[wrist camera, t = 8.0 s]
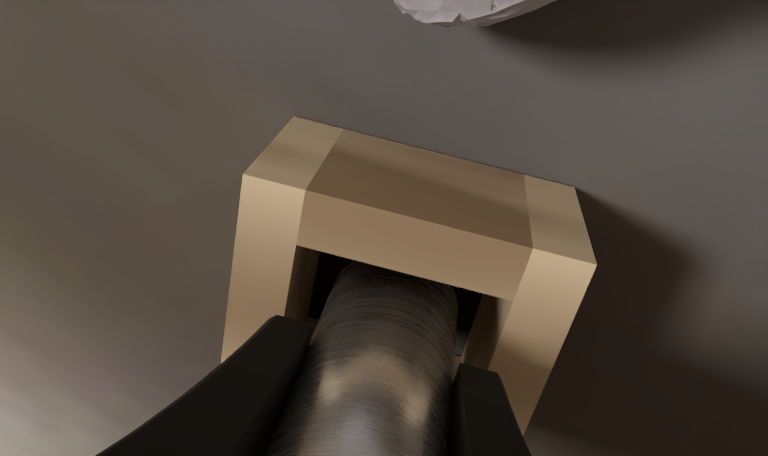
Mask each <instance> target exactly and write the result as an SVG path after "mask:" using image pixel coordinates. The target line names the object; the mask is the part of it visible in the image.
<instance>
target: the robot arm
mask: <svg viewBox="0 0 768 456" xmlns="http://www.w3.org/2000/svg"><path fill="white" fill-rule="evenodd" d="M312 328H313V324H310V323H306V322H303V321H299V320H295V319H291V318H287V317H284V316H280V315H275V316H273V317H271V318H269V319H268V320H267V321H266V322H265V323H264V324H263V325H262V326H261V327H260V328H259V329H258V330H257V331H256V332H255V333H254V334H253V335H252V336H251V337H250V338H249V339H248V340H247V341H246V342H245V343H244V344H243V345H242V346H240V347H239V348H238V349H237V350H236V351H235V352H234V353H233V354H232V355H230V356H229V357H228V358H227V359H226V360H225V361H224V362H223V363H221V364H220V365H219V366H218V367H216V368H215V369H214V370H213V371H212V372H210V373H209V374H208V375H207V376H206V377H204V378H203V379H202V380H201V381H200V382H198V383H197V384H196V385H195V386H194V387H192V388H191V389H190V390H189V391H187V392H186V393H185V394H183V395H182V396H181V397H179V398H178V399H177V400H175V401H174V402H173V403H171V404H170V405H169V406H167V407H166V408H165V409H163V410H162V411H160V412H159V413H158V414H156V415H155V416H154V417H152V418H151V419H150V420H148V421H147V422H145V423H144V424H143V425H141V426H140V427H138V428H137V429H136V430H134V431H133V432H131V433H130V434H128V435H127V436H125V437H124V438H122V439H121V440H119V441H118V442H116V443H115V444H113V445H111V446H110V447H108V448H107V449H105V450H104V451H102V452H100V453H99V454H97V455H96V456H265V453H266V451H267V448H268V446H269V443H270V441H271V438H272V436H273V433H274V431H275V429H276V426H277V424H278V421H279V419H280V416H281V414H282V411H283V409H284V406H285V404H286V401H287V399H288V397H289V394H290V392H291V389H292V387H293V384H294V382H295V379H296V377H297V374H298V372H299V369H300V367H301V364H302V362H303V359H304V357H305V354H306V352H307V349H308V347H309V343H310V338H311V333H312ZM447 456H531V454H530V452H529V449H528V447H527V445H526V443H525V440H524V438H523V435H522V433H521V430H520V428H519V425H518V423H517V420H516V418H515V415H514V413H513V410H512V408H511V405H510V402H509V399H508V397H507V394H506V391H505V388H504V386H503V383H502V380H501V378H500V377H499V375H498V373H497V372H493V371H489V370H485V369H482V368H478V367H474V366H470V365H466V364H463V363H459V366H458V369H457V372H456V375H455V378H454V381H453V384H452V395H451V408H450V422H449V436H448V450H447Z"/></svg>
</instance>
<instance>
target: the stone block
mask: <svg viewBox="0 0 768 456" xmlns="http://www.w3.org/2000/svg"><path fill="white" fill-rule="evenodd" d="M393 1H394V3H395V4H396V6H397V7H398V8H399V9H400V11H401V12H402V13H403V14H405V13H409V14H410V15H411V16H412V17H413V18H414V19H415V20H416V21H419V22H424V23H429V24H434V25H440V26H444V27H450V26H483V27H486V26H489V25H492V24H495V23H498V22H501V21H504V20H508V19H511V18H514V17H517V16H520V15H522V14H525V13H528V12H531V11H534V10H536V9H538V8H540V7H543V6H545V5H547V4H549V3H551V2H553V1H556V0H393Z"/></svg>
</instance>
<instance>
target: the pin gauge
mask: <svg viewBox="0 0 768 456" xmlns="http://www.w3.org/2000/svg"><path fill="white" fill-rule="evenodd" d="M457 315H458V305H457V299H456V295H455V292H454V290H453V287H452V286H451V285H449V284H445V283H441V282H437V281H433V280H429V279H425V278H422V277H418V276H414V275H410V274H406V273H402V272H398V271H395V270H391V269H387V268H383V267H379V266H375V265H371V264H368V263H364V262H360V261H356V260H353V261H352V262H350V263H349V264H348V265H347V266H346V267H344V269H343V270H342V271H341V272H340V273H339V275H338V276H337V278H336V280H335V282H334V284H333V287H332V289H331V292H330V294H329V297H328V299H327V302H326V304H325V307H324V309H323V312H322V314H321V317H320V319H319V322H318V324H317V326H316V329H315V331H314V334H313V336H312V339H311V341H310V344H309V347H308V349H307V352H306V354H305V357H304V359H303V362H302V364H301V367H300V369H299V372H298V374H297V377H296V379H295V382H294V384H293V387H292V389H291V392H290V394H289V397H288V399H287V401H286V404H285V406H284V409H283V411H282V414H281V416H280V419H279V421H278V424H277V426H276V429H275V431H274V433H273V436H272V438H271V441H270V443H269V446H268V448H267V451H266V453H265V456H447V450H448V436H449V422H450V408H451V395H452V383H453V369H454V356H455V342H456V329H457Z"/></svg>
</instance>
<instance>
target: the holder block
mask: <svg viewBox="0 0 768 456" xmlns="http://www.w3.org/2000/svg"><path fill="white" fill-rule="evenodd" d="M320 251H321V252H325V253H329V254H333V255H337V256H341V257H344V258H348V259H352V260H356V261H360V262H364V263H368V264H371V265H375V266H379V267H383V268H387V269H391V270H395V271H398V272H402V273H406V274H410V275H414V276H418V277H422V278H425V279H429V280H433V281H437V282H441V283H445V284H449V285H452V286H456V287H460V288H464V289H468V290H472V291H476V292H479V293H483V295H482V298H481V301H480V304H479V307H478V309H477V312H476V315H475V318H474V321H473V324H472V327H471V330H470V333H469V336H468V339H467V342H466V344H465V347H464V350H463V353H462V356H461V357H460V356H456V355H455V356H454V369H453V381H454V378H455V375H456V372H457V369H458V366H459V363H463V364H466V365H470V366H474V367H478V368H482V369H485V370H489V371H493V372H497V373H498V375H499V377H500V378H501V380H502V383H503V386H504V388H505V391H506V394H507V397H508V399H509V402H510V405H511V408H512V410H513V413H514V415H515V418H516V420H517V423H518V425H519V428H520V430H521V433H522V435H524V433H525V430H526V428H527V426H528V423H529V421H530V419H531V416H532V414H533V412H534V410H535V407H536V405H537V403H538V400H539V398H540V396H541V393H542V391H543V389H544V386H545V384H546V382H547V380H548V377H549V375H550V373H551V370H552V368H553V366H554V363H555V361H556V359H557V356H558V354H559V352H560V349H561V347H562V345H563V343H564V340H565V338H566V336H567V333H568V331H569V329H570V326H571V324H572V322H573V319H574V317H575V315H576V313H577V310H578V308H579V306H580V303H581V301H582V299H583V296H584V294H585V292H586V289H587V287H588V285H589V283H590V280H591V278H592V276H593V273H594V271H595V269H596V266H597V263H596V259H595V256H594V253H593V249H592V246H591V242H590V239H589V235H588V232H587V229H586V225H585V222H584V218H583V215H582V212H581V208H580V205H579V201H578V198H577V195H576V191H575V188H574V187H571V186H567V185H563V184H560V183H556V182H552V181H548V180H544V179H540V178H536V177H532V176H528V175H524V174H520V173H516V172H512V171H508V170H504V169H500V168H496V167H492V166H488V165H484V164H481V163H477V162H473V161H469V160H465V159H461V158H457V157H453V156H449V155H445V154H441V153H437V152H433V151H429V150H425V149H421V148H417V147H413V146H409V145H405V144H402V143H398V142H394V141H390V140H386V139H382V138H378V137H374V136H370V135H366V134H362V133H358V132H354V131H350V130H346V129H342V128H338V127H334V126H330V125H326V124H323V123H319V122H315V121H311V120H307V119H303V118H299V117H295V116H294V117H293V118H292V119H291V120H290V121H289V123H288V124H287V125H286V126H285V127H284V128H283V129H282V131H281V132H280V133H279V134H278V135H277V136H276V137H275V138H274V140H273V141H272V142H271V143H270V144H269V145H268V146H267V147H266V149H265V150H264V151H263V152H262V153H261V154H260V155H259V157H258V158H257V159H256V160H255V161H254V162H253V163H252V164H251V166H250V167H249V168H248V169H247V170H246V171H245V172H244V173H243V178H242V186H241V195H240V204H239V212H238V221H237V229H236V238H235V246H234V255H233V263H232V272H231V280H230V289H229V297H228V306H227V314H226V323H225V331H224V340H223V349H222V357H221V363H223V362H224V361H225V360H226V359H227V358H228V357H229V356H230V355H232V354H233V353H234V352H235V351H236V350H237V349H238V348H239V347H240V346H242V345H243V344H244V343H245V342H246V341H247V340H248V339H249V338H250V337H251V336H252V335H253V334H254V333H255V332H256V331H257V330H258V329H259V328H260V327H261V326H262V325H263V324H264V323H265V322H266V321H267V320H268V319H269V318H271V317H273V316H275V315H280V316H284V317H287V318H291V319H295V320H299V321H303V322H306V323H310V324H313V328H312V333H311V338H310V341H311V339H312V336H313V334H314V331H315V329H316V326H317V324H318V322H319V319H315V318H311V317H308V313H309V307H310V302H311V297H312V292H313V286H314V281H315V276H316V271H317V265H318V260H319V255H320ZM309 344H310V343H309ZM452 384H453V383H452Z"/></svg>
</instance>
